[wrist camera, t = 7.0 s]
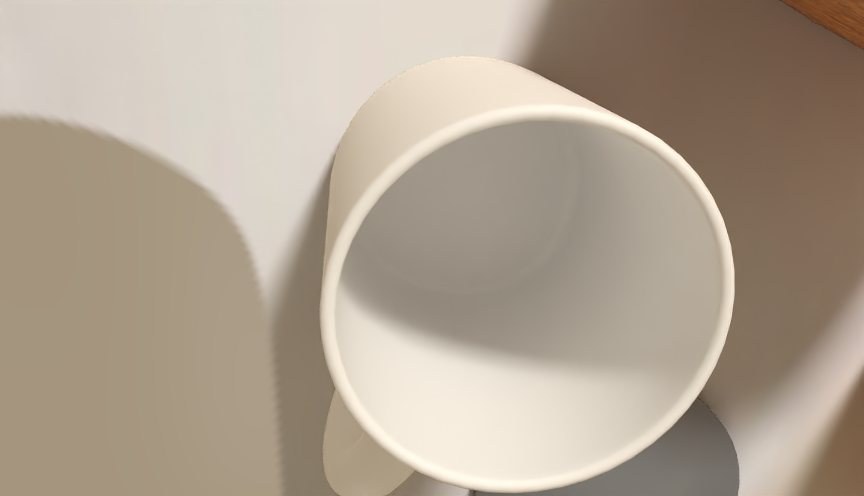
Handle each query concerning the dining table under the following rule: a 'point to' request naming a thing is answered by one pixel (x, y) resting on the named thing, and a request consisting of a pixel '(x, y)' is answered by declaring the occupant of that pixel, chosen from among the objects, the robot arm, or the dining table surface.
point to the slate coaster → (667, 464)
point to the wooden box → (835, 16)
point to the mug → (510, 285)
